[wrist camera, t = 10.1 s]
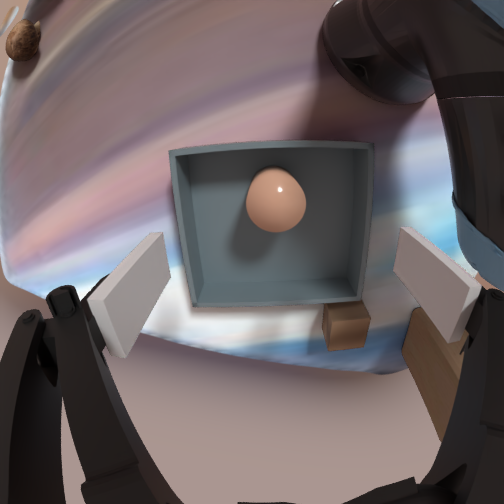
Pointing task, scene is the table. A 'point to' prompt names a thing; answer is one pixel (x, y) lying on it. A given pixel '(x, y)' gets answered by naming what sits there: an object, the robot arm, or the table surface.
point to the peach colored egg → (275, 199)
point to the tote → (274, 243)
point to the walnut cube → (345, 325)
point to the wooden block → (433, 367)
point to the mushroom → (23, 40)
